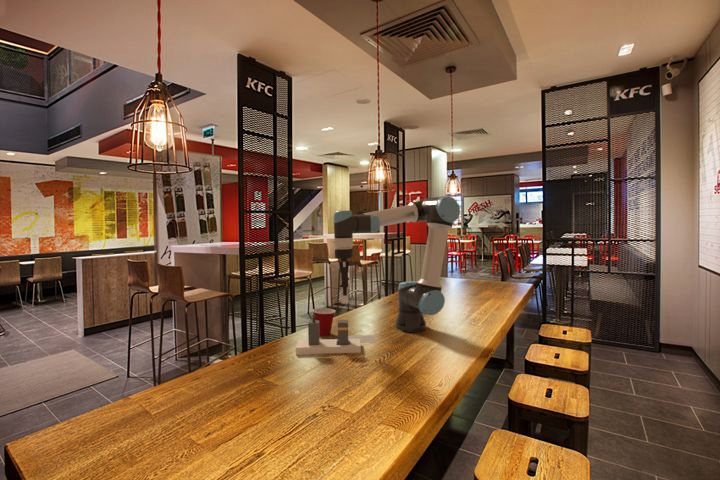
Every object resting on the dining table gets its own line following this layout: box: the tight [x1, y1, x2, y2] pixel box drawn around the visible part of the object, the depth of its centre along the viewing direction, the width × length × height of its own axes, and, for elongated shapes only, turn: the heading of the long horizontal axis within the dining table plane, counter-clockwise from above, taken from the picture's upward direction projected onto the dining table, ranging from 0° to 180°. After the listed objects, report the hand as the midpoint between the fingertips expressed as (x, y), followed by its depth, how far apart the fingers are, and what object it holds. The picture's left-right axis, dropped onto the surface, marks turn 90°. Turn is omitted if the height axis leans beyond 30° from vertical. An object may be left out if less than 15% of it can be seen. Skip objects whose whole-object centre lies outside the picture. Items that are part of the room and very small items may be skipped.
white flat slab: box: [348, 334, 376, 344], centre depth 163 cm, size 12×10×1 cm
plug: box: [337, 319, 349, 345], centre depth 151 cm, size 4×4×12 cm
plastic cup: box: [312, 307, 337, 337], centre depth 170 cm, size 11×11×12 cm
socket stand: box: [295, 313, 362, 356], centre depth 150 cm, size 26×9×15 cm, turn 92°
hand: (345, 299), depth 151 cm, fingers open, 13 cm apart
